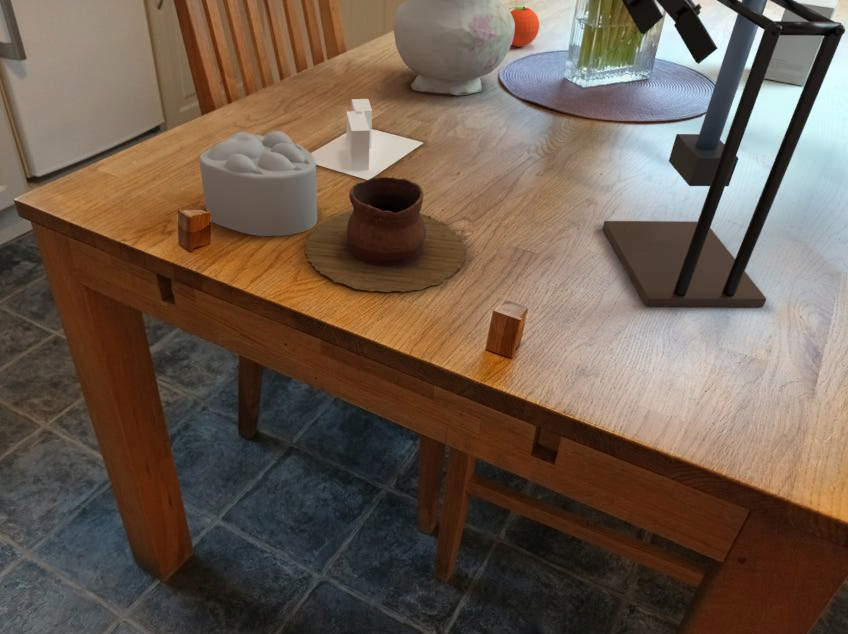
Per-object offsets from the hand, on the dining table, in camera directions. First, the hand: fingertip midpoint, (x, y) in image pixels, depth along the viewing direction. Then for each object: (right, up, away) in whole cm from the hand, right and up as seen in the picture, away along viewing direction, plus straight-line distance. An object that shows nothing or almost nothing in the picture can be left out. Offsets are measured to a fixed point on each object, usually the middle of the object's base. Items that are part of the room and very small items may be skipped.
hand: (680, 41), depth 87 cm
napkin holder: (-38, -10, +14) cm, 42 cm away
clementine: (-9, +23, +54) cm, 60 cm away
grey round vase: (-23, +9, +37) cm, 44 cm away
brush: (-4, -19, -13) cm, 24 cm away
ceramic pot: (-36, -26, -7) cm, 45 cm away
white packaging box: (+37, +12, +42) cm, 58 cm away
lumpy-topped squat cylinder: (-50, -21, -1) cm, 54 cm away
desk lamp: (-4, -28, -8) cm, 29 cm away
